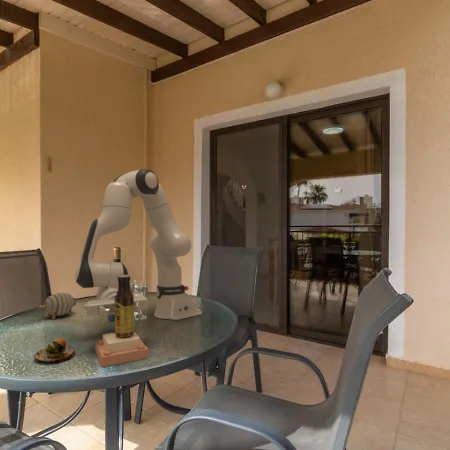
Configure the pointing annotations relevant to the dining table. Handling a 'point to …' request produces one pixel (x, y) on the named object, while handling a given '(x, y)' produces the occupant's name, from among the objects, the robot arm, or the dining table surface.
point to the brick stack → (120, 349)
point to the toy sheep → (59, 304)
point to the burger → (56, 352)
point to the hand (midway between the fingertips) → (122, 310)
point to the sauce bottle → (124, 308)
